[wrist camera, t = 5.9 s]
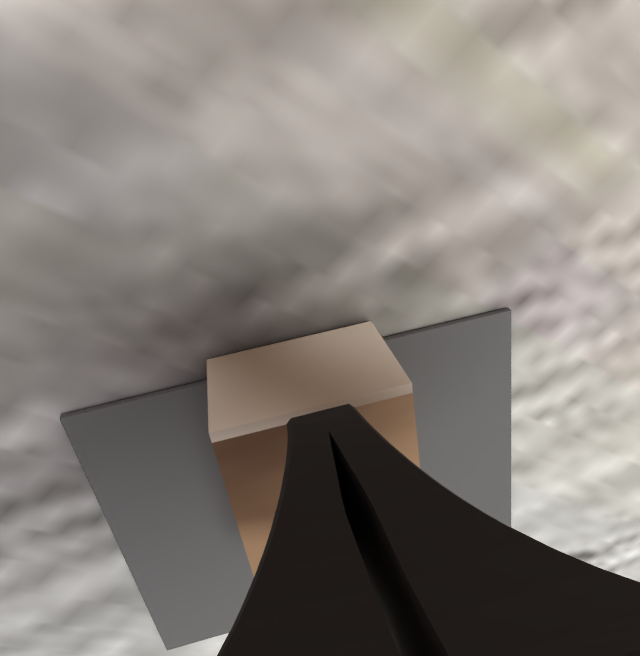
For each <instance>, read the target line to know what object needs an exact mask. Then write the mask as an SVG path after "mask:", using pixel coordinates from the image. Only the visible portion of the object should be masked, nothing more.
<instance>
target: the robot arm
mask: <svg viewBox="0 0 640 656" xmlns="http://www.w3.org/2000/svg"><path fill="white" fill-rule="evenodd" d="M287 432H288V443H287V455H286V463H285V469H284V475H283V481H282V486H281V491H280V496H279V500H278V504H277V508H276V512H275V515H274V519H273V523H272V527H271V530H270V533H269V537H268V540H267V543H266V546H265V549H264V552H263V555H262V557H261V560H260V563H259V566H258V568H257V571H256V574H255V576H254V579H253V581H252V583H251V586H250V588H249V591H248V593H247V595H246V598H245V600H244V603H243V605H242V607H241V609H240V611H239V614H238V616H237V618H236V620H235V622H234V624H233V626H232V628H231V630H230V632H229V634H228V636H227V638H226V640H225V642H224V644H223V646H222V647H221V649H220V651H219V653H218V655H217V656H640V582H637V581H634V580H632V579H629V578H626V577H623V576H620V575H617V574H614V573H612V572H609V571H606V570H603V569H601V568H598V567H596V566H593V565H591V564H588V563H586V562H584V561H581V560H579V559H576V558H574V557H572V556H569V555H567V554H565V553H562V552H560V551H558V550H555V549H553V548H551V547H549V546H547V545H545V544H543V543H541V542H539V541H537V540H535V539H533V538H531V537H529V536H527V535H525V534H523V533H521V532H519V531H517V530H515V529H513V528H511V527H509V526H507V525H505V524H503V523H502V522H500V521H498V520H496V519H495V518H493V517H491V516H489V515H488V514H486V513H484V512H482V511H481V510H479V509H478V508H476V507H474V506H473V505H471V504H470V503H468V502H466V501H465V500H463V499H462V498H460V497H459V496H457V495H456V494H454V493H453V492H451V491H450V490H449V489H447V488H446V487H444V486H443V485H441V484H440V483H439V482H437V481H436V480H435V479H433V478H432V477H431V476H429V475H428V474H427V473H425V472H424V471H423V470H421V469H420V468H419V467H418V466H416V465H415V464H414V463H413V462H411V461H410V460H409V459H408V458H407V457H406V456H404V455H403V454H402V453H401V452H400V451H399V450H397V449H396V448H395V447H394V446H393V445H392V444H390V443H389V442H388V441H387V440H386V439H385V438H384V437H383V436H382V435H381V434H380V433H379V432H378V431H377V430H376V429H375V428H373V427H372V426H371V425H370V423H369V422H368V421H367V420H366V419H365V418H364V417H363V416H362V415H361V414H360V413H359V412H358V411H357V409H356V408H355V407H353V406H352V405H350V404H345V405H341V406H337V407H333V408H329V409H325V410H321V411H317V412H313V413H309V414H305V415H301V416H297V417H293V418H291V419H290V420H289V421H288V423H287Z"/></svg>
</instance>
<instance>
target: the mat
mask: <svg viewBox="0 0 640 656" xmlns="http://www.w3.org/2000/svg"><path fill="white" fill-rule="evenodd" d="M383 340H384V341H385V343H386V344H387V346H388V347H389V349H390V350H391V352H392V353H393V355H394V356H395V358H396V359H397V361H398V362H399V364H400V365H401V367H402V368H403V370H404V371H405V373H406V374H407V376H408V377H409V379H410V380H411V382H412V389H413V399H414V410H415V420H416V430H417V441H418V451H419V462H420V469H421V470H423V471H424V472H425V473H427V474H428V475H429V476H431V477H432V478H433V479H435V480H436V481H437V482H439V483H440V484H441V485H443V486H444V487H446V488H447V489H449V490H450V491H451V492H453V493H454V494H456V495H457V496H459V497H460V498H462V499H463V500H465V501H466V502H468V503H470V504H471V505H473V506H474V507H476V508H478V509H479V510H481V511H482V512H484V513H486V514H488V515H489V516H491V517H493V518H495V519H496V520H498V521H500V522H502V523H503V524H505V525H507V526H509V527H511V310H510V309H509V308H505V309H501V310H497V311H493V312H488V313H484V314H480V315H476V316H472V317H468V318H463V319H459V320H455V321H451V322H447V323H442V324H438V325H434V326H430V327H426V328H422V329H417V330H413V331H409V332H405V333H401V334H396V335H392V336H388V337H384V338H383ZM60 421H61V423H62V425H63V427H64V429H65V431H66V434H67V436H68V438H69V440H70V442H71V444H72V446H73V449H74V451H75V453H76V455H77V457H78V459H79V462H80V464H81V466H82V468H83V470H84V472H85V474H86V477H87V479H88V481H89V483H90V485H91V487H92V490H93V492H94V494H95V496H96V498H97V500H98V503H99V505H100V507H101V509H102V511H103V513H104V515H105V518H106V520H107V522H108V524H109V526H110V528H111V531H112V533H113V535H114V537H115V539H116V541H117V543H118V546H119V548H120V550H121V552H122V554H123V556H124V559H125V561H126V563H127V565H128V567H129V569H130V572H131V574H132V576H133V578H134V580H135V582H136V584H137V587H138V589H139V591H140V593H141V595H142V597H143V600H144V602H145V604H146V606H147V608H148V610H149V612H150V615H151V617H152V619H153V621H154V623H155V625H156V628H157V630H158V632H159V634H160V636H161V638H162V641H163V643H164V645H165V647H166V649H167V650H170V649H173V648H177V647H180V646H184V645H187V644H191V643H194V642H198V641H201V640H205V639H208V638H212V637H215V636H219V635H222V634H226V633H229V632H230V630H231V628H232V626H233V624H234V622H235V620H236V618H237V616H238V614H239V611H240V609H241V607H242V605H243V603H244V600H245V598H246V595H247V593H248V591H249V588H250V586H251V583H252V581H253V579H254V576H253V573H252V570H251V567H250V563H249V560H248V557H247V554H246V551H245V547H244V544H243V541H242V538H241V535H240V532H239V528H238V525H237V522H236V519H235V516H234V512H233V509H232V506H231V503H230V500H229V496H228V493H227V490H226V487H225V484H224V480H223V477H222V474H221V471H220V468H219V464H218V461H217V458H216V455H215V452H214V449H213V445H212V442H211V439H210V436H209V428H208V392H207V380H204V381H200V382H196V383H192V384H187V385H183V386H179V387H175V388H171V389H166V390H162V391H158V392H154V393H150V394H146V395H141V396H137V397H133V398H129V399H125V400H120V401H116V402H112V403H108V404H104V405H100V406H95V407H91V408H87V409H83V410H79V411H74V412H70V413H66V414H62V415H61V416H60Z"/></svg>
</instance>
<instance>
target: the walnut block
mask: <svg viewBox="0 0 640 656" xmlns="http://www.w3.org/2000/svg"><path fill="white" fill-rule="evenodd" d="M207 392H208V428H209V436H210V439H211V442H212V445H213V449H214V452H215V455H216V458H217V461H218V464H219V468H220V471H221V474H222V477H223V480H224V484H225V487H226V490H227V493H228V496H229V500H230V503H231V506H232V509H233V512H234V516H235V519H236V522H237V525H238V528H239V532H240V535H241V538H242V541H243V544H244V547H245V551H246V554H247V557H248V560H249V563H250V567H251V570H252V573H253V576H255V574H256V571H257V568H258V566H259V563H260V560H261V557H262V555H263V552H264V549H265V546H266V543H267V540H268V537H269V533H270V530H271V527H272V523H273V519H274V515H275V512H276V508H277V504H278V500H279V496H280V491H281V486H282V481H283V475H284V469H285V463H286V455H287V443H288V432H287V423H288V421H289V420H290V419H291V418H293V417H297V416H301V415H305V414H309V413H313V412H317V411H321V410H325V409H329V408H333V407H337V406H341V405H345V404H350V405H352V406H353V407H355V408H356V409H357V411H358V412H359V413H360V414H361V415H362V416H363V417H364V418H365V419H366V420H367V421H368V422H369V423H370V425H371V426H372V427H373V428H375V429H376V430H377V431H378V432H379V433H380V434H381V435H382V436H383V437H384V438H385V439H386V440H387V441H388V442H389V443H390V444H392V445H393V446H394V447H395V448H396V449H397V450H399V451H400V452H401V453H402V454H403V455H404V456H406V457H407V458H408V459H409V460H410V461H411V462H413V463H414V464H415V465H416V466H418V467H419V468H420V462H419V451H418V441H417V430H416V420H415V410H414V399H413V389H412V382H411V380H410V379H409V377H408V376H407V374H406V373H405V371H404V370H403V368H402V367H401V365H400V364H399V362H398V361H397V359H396V358H395V356H394V355H393V353H392V352H391V350H390V349H389V347H388V346H387V344H386V343H385V341H384V340H383V338H382V337H381V335H380V334H379V332H378V330H377V329H376V327H375V326H374V324H373V323H372V321H369V322H365V323H361V324H356V325H352V326H348V327H344V328H339V329H335V330H331V331H326V332H322V333H318V334H314V335H309V336H305V337H301V338H297V339H292V340H288V341H284V342H279V343H275V344H271V345H267V346H262V347H258V348H254V349H250V350H245V351H241V352H237V353H232V354H228V355H224V356H220V357H215V358H211V359H207Z"/></svg>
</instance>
